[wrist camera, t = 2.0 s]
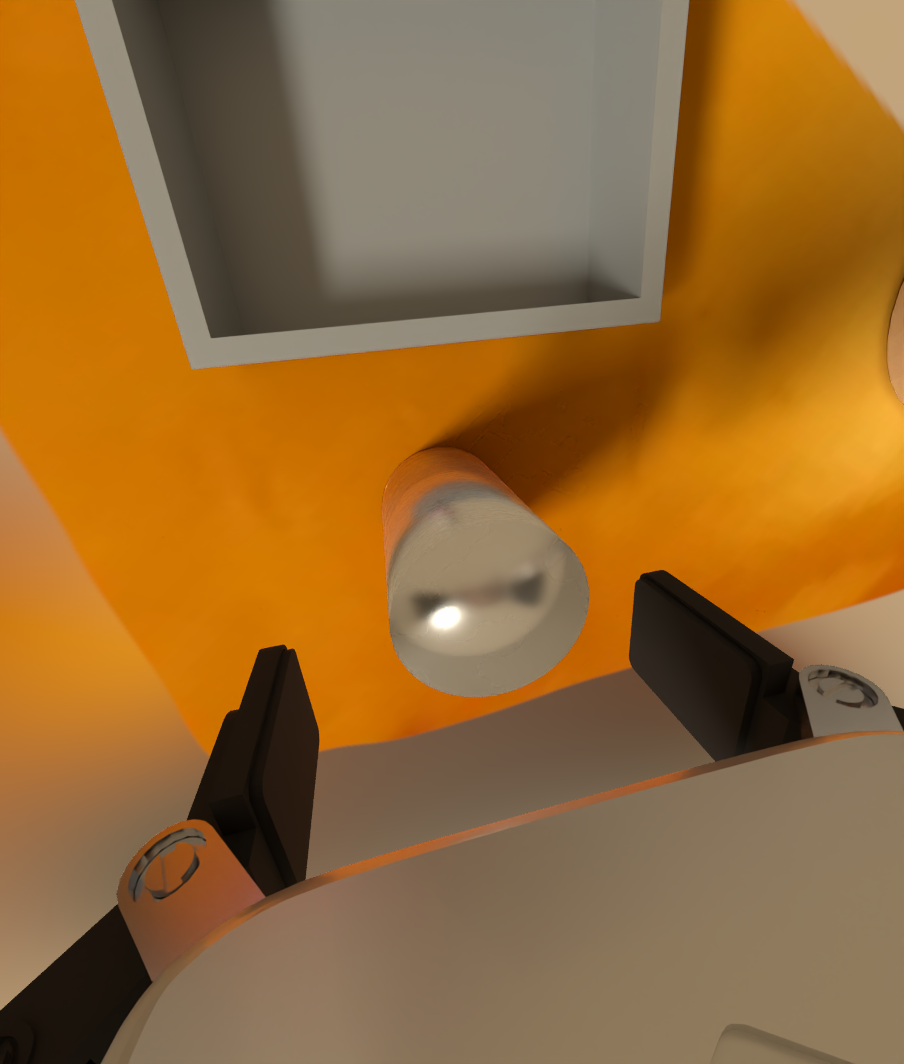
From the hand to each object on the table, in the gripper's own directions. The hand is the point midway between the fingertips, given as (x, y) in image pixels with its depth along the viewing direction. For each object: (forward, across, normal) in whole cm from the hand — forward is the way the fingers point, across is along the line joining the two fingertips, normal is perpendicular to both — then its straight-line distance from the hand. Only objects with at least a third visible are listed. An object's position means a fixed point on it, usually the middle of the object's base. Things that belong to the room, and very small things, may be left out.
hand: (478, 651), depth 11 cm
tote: (+11, -1, -13) cm, 17 cm away
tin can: (+11, -1, 0) cm, 11 cm away
